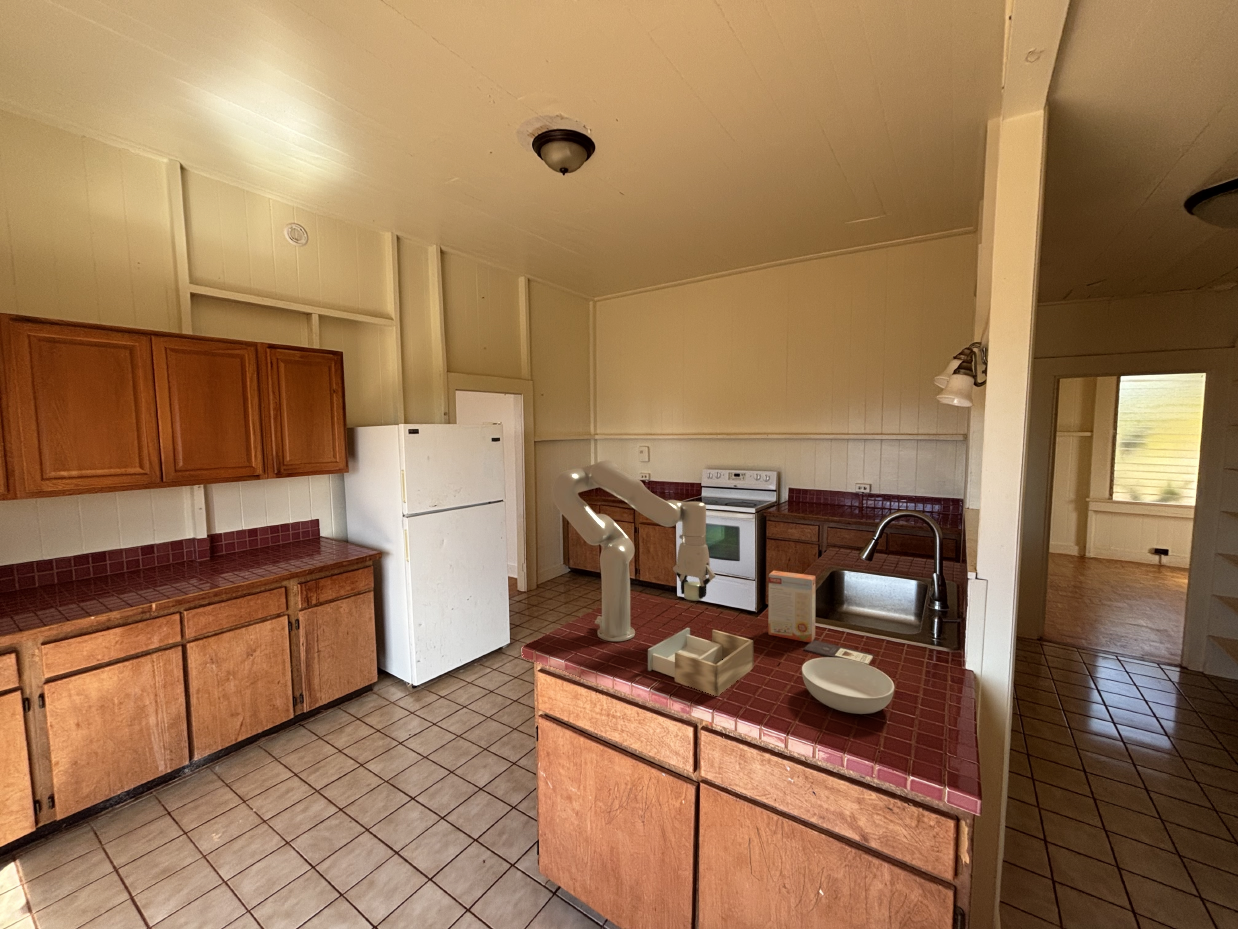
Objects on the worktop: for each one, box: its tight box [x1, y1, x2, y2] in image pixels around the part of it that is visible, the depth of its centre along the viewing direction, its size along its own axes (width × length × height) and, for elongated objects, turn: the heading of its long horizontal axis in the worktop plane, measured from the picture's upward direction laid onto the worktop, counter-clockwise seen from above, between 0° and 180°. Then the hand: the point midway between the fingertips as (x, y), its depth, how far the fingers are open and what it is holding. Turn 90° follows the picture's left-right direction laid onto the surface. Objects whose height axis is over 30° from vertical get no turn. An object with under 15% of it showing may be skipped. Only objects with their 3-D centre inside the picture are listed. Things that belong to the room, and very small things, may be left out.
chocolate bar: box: [803, 639, 875, 665], centre depth 151 cm, size 9×1×18 cm
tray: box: [647, 627, 723, 678], centre depth 143 cm, size 13×21×6 cm, turn 140°
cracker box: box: [767, 570, 816, 644], centre depth 164 cm, size 14×6×21 cm, turn 58°
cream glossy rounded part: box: [683, 581, 704, 601], centre depth 160 cm, size 6×6×4 cm
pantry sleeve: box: [674, 629, 754, 697], centre depth 138 cm, size 13×21×8 cm, turn 140°
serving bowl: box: [801, 656, 895, 715], centre depth 123 cm, size 21×21×7 cm
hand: (693, 594), depth 160 cm, fingers closed on cream glossy rounded part, 5 cm apart
